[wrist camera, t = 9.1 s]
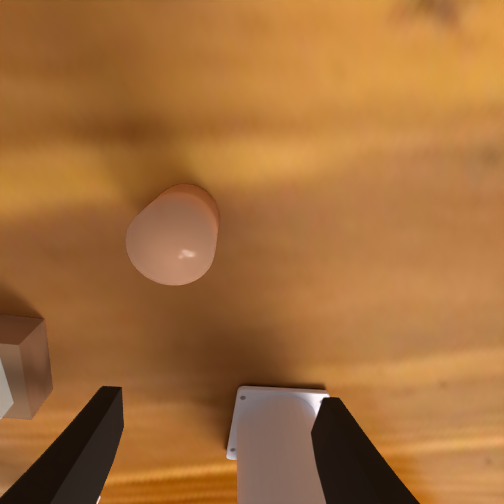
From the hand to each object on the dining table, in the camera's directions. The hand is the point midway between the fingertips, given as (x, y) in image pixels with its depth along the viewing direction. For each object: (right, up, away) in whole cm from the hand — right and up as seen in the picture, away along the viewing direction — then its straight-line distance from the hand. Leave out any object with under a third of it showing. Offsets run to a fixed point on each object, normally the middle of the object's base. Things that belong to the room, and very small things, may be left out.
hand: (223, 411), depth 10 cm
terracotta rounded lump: (-3, +8, +7) cm, 11 cm away
